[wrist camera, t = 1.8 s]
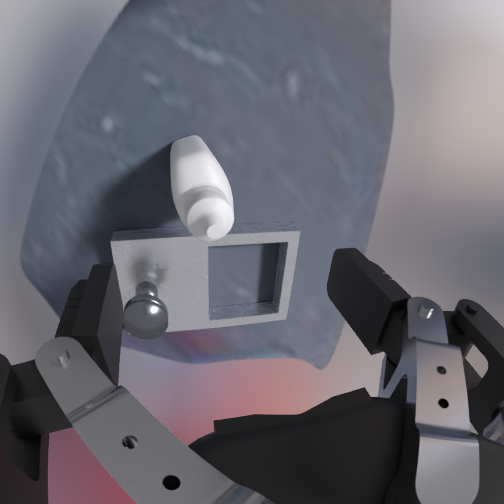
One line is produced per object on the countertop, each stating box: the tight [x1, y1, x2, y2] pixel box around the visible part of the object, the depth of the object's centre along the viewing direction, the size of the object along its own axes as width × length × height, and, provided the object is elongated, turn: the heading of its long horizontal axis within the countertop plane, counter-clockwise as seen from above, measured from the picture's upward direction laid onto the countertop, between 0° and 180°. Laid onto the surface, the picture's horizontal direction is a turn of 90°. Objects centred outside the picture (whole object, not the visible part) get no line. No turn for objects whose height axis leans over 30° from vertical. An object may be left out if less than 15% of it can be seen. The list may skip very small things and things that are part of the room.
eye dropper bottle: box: [170, 135, 234, 241], centre depth 19 cm, size 4×6×12 cm
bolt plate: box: [110, 222, 300, 339], centre depth 26 cm, size 10×16×6 cm, turn 85°
